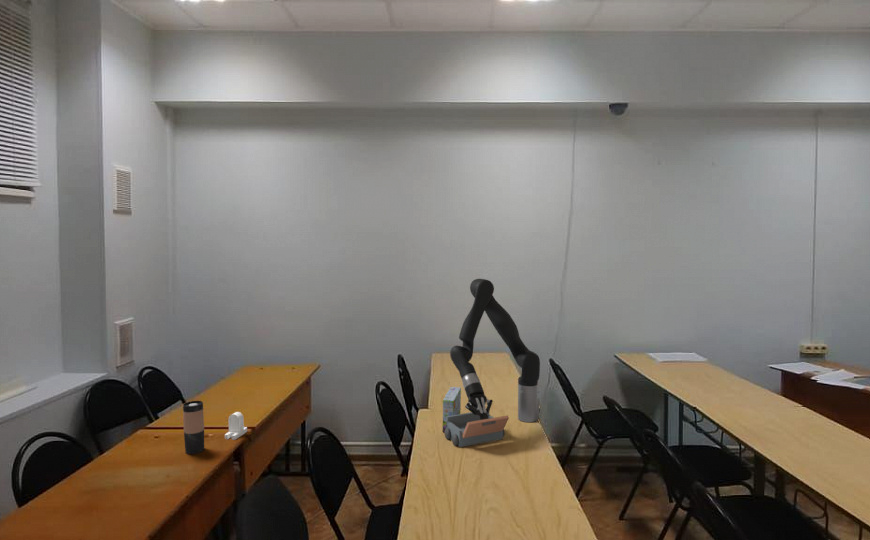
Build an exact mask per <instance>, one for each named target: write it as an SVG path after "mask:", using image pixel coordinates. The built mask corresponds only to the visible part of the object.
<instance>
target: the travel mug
mask: <svg viewBox="0 0 870 540" xmlns="http://www.w3.org/2000/svg"><path fill="white" fill-rule="evenodd" d="M182 415H183V417H182V418H183V439H184V450H185V453H186V454H187V455H196V454H200V453H202V452H203V451H204V450H205V419H204V418H205V417H204V402H203V401H202V400H191V401H187V402H184V403H183V405H182Z"/></svg>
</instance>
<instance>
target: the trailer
mask: <svg viewBox="0 0 870 540" xmlns="http://www.w3.org/2000/svg"><path fill="white" fill-rule="evenodd" d="M487 416H488V419H489V418H495V417H494V416H492V415H490V411H489V412H488V413H487ZM478 420H481V419H480V416H479V415H474V414H473V413H472V412H470V411H469V412H465V413H460V414H458V415H452V416H446V429H445V431H444V432H443V433H444V437H445V439H446V440H452V441H451V442H452V444H453V446H455V447H456V446H458V447H459V448H463V447H468V446H473V445H479V444H478V443H480V444H484V443H483V442H485V443H489V441H490V442H495V441H500V440H504V437H505V433H506V432H505V428H504V429H503V431H499V432H493V433H488V434H483V435H477V436H472V437H466V438H463V436H462V435H463V432H464V430H465V428H466V425H467V423H468V422H472V421H478ZM494 440H495V441H494Z"/></svg>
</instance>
